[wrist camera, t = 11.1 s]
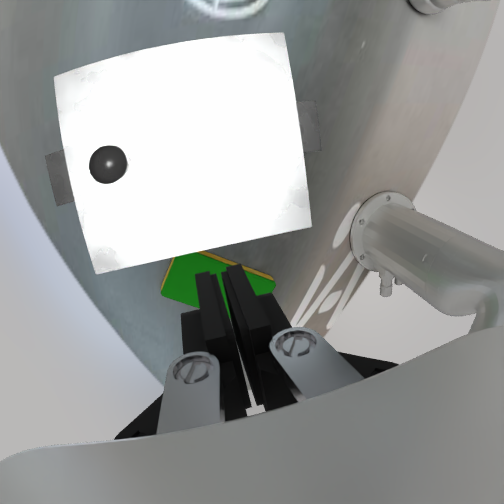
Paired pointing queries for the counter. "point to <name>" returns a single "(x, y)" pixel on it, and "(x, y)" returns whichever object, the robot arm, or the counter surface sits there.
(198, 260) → the dish sponge
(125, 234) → the lid
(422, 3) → the plastic bottle
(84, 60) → the counter surface
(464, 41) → the counter surface
